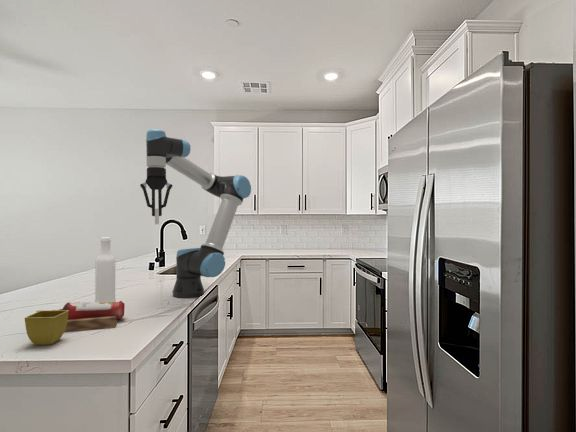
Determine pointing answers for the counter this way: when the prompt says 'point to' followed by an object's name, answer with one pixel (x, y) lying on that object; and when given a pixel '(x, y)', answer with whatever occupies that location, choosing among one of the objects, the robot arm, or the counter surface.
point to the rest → (91, 323)
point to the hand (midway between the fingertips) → (156, 224)
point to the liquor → (94, 309)
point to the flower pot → (46, 326)
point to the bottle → (105, 273)
